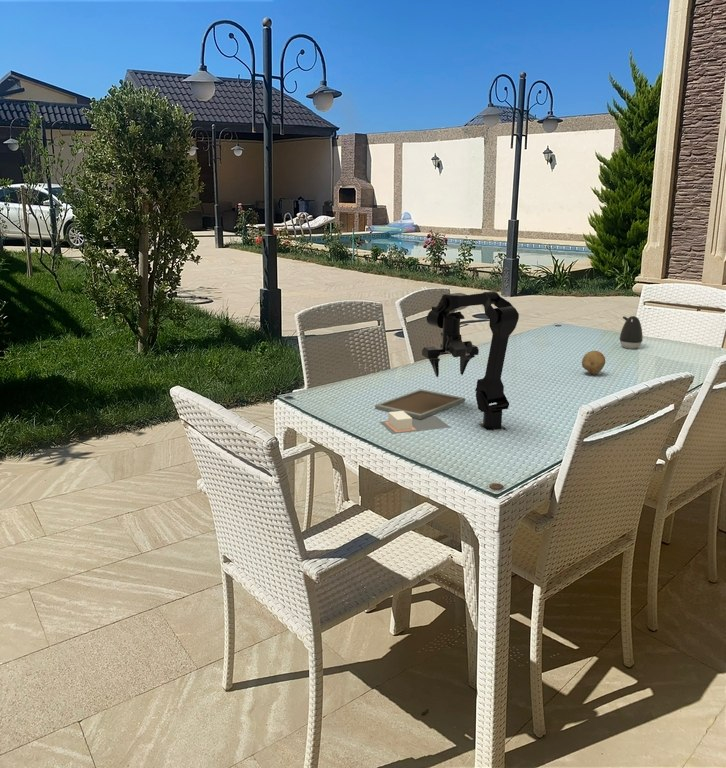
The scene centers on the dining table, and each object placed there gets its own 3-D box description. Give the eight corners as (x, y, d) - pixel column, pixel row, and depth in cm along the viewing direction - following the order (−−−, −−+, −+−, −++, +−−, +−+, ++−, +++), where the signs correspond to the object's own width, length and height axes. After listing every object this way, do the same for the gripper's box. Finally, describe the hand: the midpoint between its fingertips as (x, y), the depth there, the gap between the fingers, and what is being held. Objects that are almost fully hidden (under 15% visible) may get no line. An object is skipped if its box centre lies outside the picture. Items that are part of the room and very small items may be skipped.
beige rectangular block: (402, 421, 236) (402, 410, 235) (412, 428, 229) (412, 418, 228) (388, 422, 235) (388, 412, 234) (397, 430, 227) (397, 419, 226)
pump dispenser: (625, 344, 351) (629, 313, 347) (645, 348, 343) (649, 316, 339) (614, 347, 345) (617, 315, 340) (634, 351, 337) (637, 319, 333)
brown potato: (590, 378, 291) (593, 354, 288) (576, 373, 299) (578, 349, 296) (608, 376, 294) (610, 352, 292) (593, 370, 302) (595, 347, 299)
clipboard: (465, 397, 257) (416, 417, 235) (465, 402, 258) (415, 422, 235) (420, 388, 269) (370, 406, 247) (420, 393, 270) (370, 411, 247)
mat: (451, 429, 231) (451, 426, 231) (392, 435, 225) (392, 433, 225) (435, 417, 242) (435, 415, 242) (379, 423, 236) (379, 421, 236)
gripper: (435, 337, 233) (434, 384, 237) (487, 333, 239) (485, 379, 243) (421, 330, 243) (420, 375, 247) (472, 327, 249) (469, 371, 253)
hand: (449, 375), depth 248 cm, fingers open, 9 cm apart
